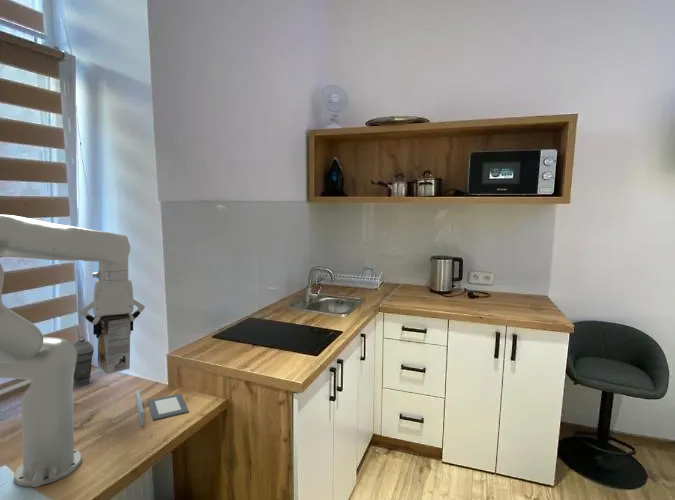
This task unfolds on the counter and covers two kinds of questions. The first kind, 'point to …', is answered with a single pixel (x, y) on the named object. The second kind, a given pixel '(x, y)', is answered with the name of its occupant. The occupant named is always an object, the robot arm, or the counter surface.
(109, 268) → the robot arm
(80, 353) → the beverage cup
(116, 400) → the counter surface
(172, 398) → the mat
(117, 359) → the coffee box
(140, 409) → the acrylic wall
